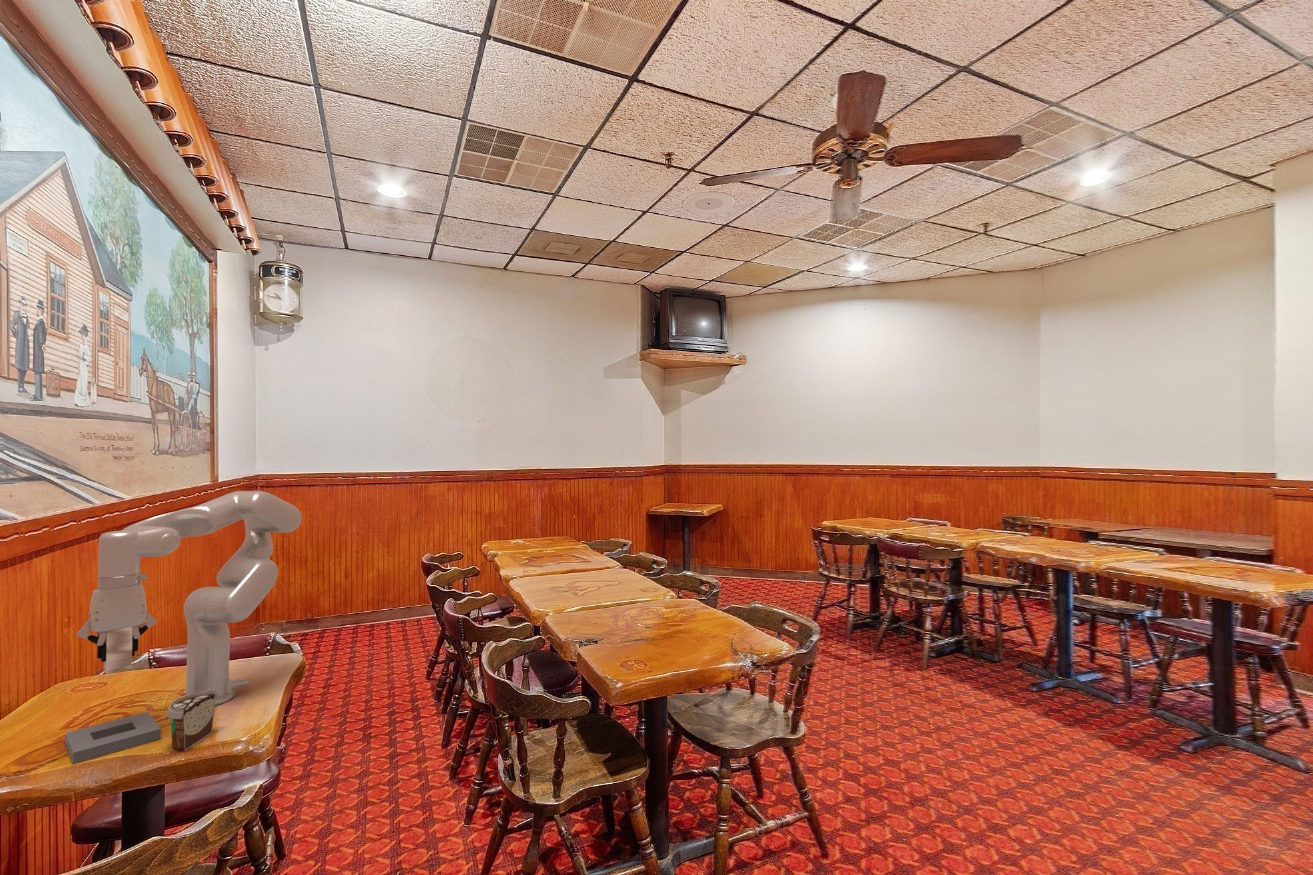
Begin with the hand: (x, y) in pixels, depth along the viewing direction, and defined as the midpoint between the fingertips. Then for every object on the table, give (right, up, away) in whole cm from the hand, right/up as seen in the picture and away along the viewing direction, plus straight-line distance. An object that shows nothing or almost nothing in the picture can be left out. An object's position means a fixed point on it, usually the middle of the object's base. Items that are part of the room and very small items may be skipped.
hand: (117, 656), depth 141 cm
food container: (+18, -20, -2) cm, 27 cm away
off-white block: (0, -3, 0) cm, 3 cm away
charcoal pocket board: (0, -20, -1) cm, 20 cm away
